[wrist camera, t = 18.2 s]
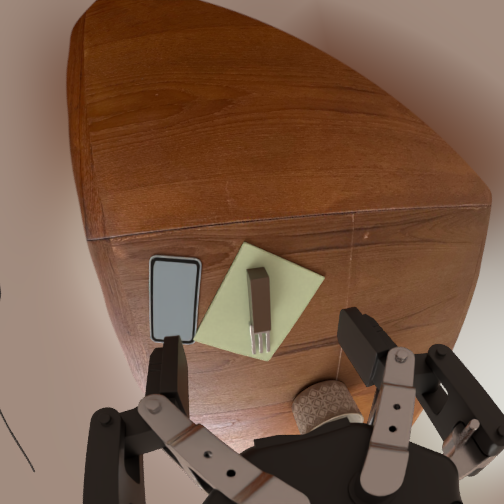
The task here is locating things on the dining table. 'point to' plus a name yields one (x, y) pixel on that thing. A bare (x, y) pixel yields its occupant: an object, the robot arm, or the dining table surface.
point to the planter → (324, 406)
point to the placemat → (237, 303)
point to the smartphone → (173, 297)
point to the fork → (259, 307)
